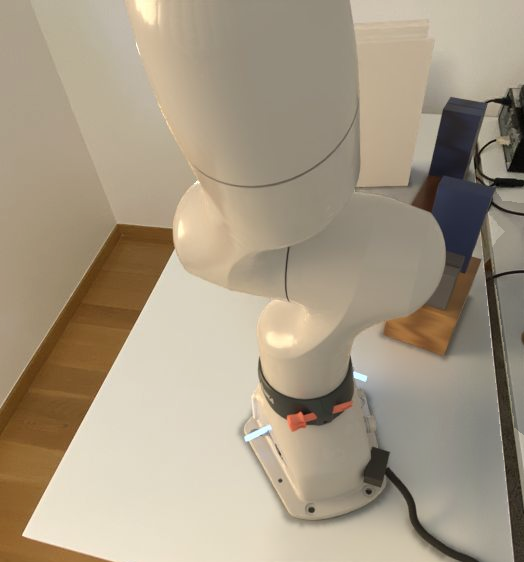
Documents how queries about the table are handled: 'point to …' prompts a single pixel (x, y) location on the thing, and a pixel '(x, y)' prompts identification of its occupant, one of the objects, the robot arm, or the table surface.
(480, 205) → the navy book
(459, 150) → the book rack
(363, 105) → the block
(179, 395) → the table surface
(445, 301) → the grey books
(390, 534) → the table surface
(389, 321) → the oak shelf
